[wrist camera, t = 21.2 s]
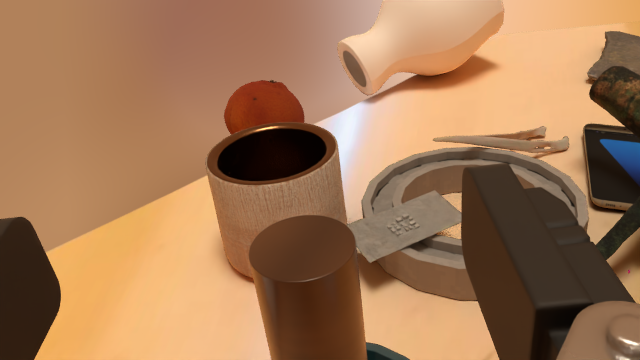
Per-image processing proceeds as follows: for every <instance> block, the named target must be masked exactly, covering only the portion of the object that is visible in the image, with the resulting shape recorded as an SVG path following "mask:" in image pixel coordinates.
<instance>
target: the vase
mask: <svg viewBox="0 0 640 360" xmlns="http://www.w3.org/2000/svg"><path fill="white" fill-rule="evenodd" d="M503 18H504V7H503V2H502V0H383V1H382V4H381V8H380V12H379V15H378V17H377V20H376V22H375V23H374V25H373V27H372V28H371V29H370V30H369V31H368V32H366V33H364V34H360V35H354V36H350V37H347V38H345V39H344V40H342V41H341V42H339V43H338V47H337V50H338V54H339V58H340V61H341V63H342V66H343V68H344V69H345V71H346V73H347V75H348V77H349V78H350V79H351V81H352V82H353V84H354V85H355V86H356V87H357V88H358V89H359V90H360V91H361V92H362V93H364V94H366V95H372V94H374V93H375V92H377V90H379V89H380V88H381V87H382V85H383V84H384V83H385V82H386V80H387V79H388V78H389V77H390V76H391V75H393V74H395V73H397V72H410V73H415V74H420V75H425V76H434V75H438V74H442V73H446V72H450V71H452V70H454V69H456V68H458V67H459V66H461V65H462V64H463V63H465V62H466V61H467V60H468V59H469V58H470V57H471V56H472V55H473V54H474V53H475V52H476V51H477V50H478V49H479V48H480V47H481V45H482V44H483V43H485V42H486V41H487V40H488V39H489V38H490V37H491V36H493V35H494V34H496V33H497V32H498V31H499V29H500V28H501V26H502V24H503Z"/></svg>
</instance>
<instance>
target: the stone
mask: <svg viewBox="0 0 640 360" xmlns="http://www.w3.org/2000/svg"><path fill="white" fill-rule="evenodd" d="M605 38H606V42H605V48H604V50H603V52H602V56H601V57H600V59H599V61H597V62H596V63H594V65H593V67H591V68H590V69H589V71H588V73H587V74H588V77H589V78H591V79H593V80H595V81H596V80H597V78H598V77H599V76H600V75H601V74H602V73H603V72H604V71H605V70H607V69H608V68H610V67H612V66H624V67H626V68H628V69H629V70H631V71H633V72H635V73H637V74H639V75H640V37H639V36H635V35H631V34H627V33H623V32H617V31H610V32H605Z"/></svg>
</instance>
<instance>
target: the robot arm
mask: <svg viewBox="0 0 640 360" xmlns="http://www.w3.org/2000/svg"><path fill="white" fill-rule="evenodd" d="M461 241H462V251H463V258H464V262H465V267H466V270H467V273H468V276H469V278H470V281H471V284H472V286H473V289H474V292H475V295H476V297H477V300H478V303H479V305H480V308H481V311H482V314H483V316H484V319H485V322H486V324H487V327H488V330H489V332H490V335H491V338H492V341H493V343H494V346H495V349H496V351H497V354H498V357H499V359H500V360H640V304H637V303H635V301H634V300H633V298H632V297H631V295H630V294H629V293H628V291H627V290H626V288H625V287H624V286H623V284H622V283H621V281H620V280H619V278H618V277H617V276H616V274H615V273H614V271H613V270H612V268H611V267H610V266H609V264H608V263H607V261H606V260H605V258H604V257H603V256H602V254H601V253H600V251H599V250H598V249H597V247H596V246H595V244H594V243H593V242H590V237H589V236H588V234H587V233H586V231H585V230H584V229H583V227H582V226H581V225H579V223H578V220H577V219H576V217H575V216H574V214H573V213H572V211H571V210H570V209H569V207H568V206H567V204H566V203H565V202H564V201H562V200H561V199H559V198H558V197H556V196H555V195H553V194H552V193H550V192H548V191H547V190H545V189H544V188H542V187H536V188H527V189H524V188H523V186H522V185H521V183H520V181H519V180H518V178H517V176H516V175H515V173H514V171H513V170H512V168H511V167H510V165H509V164H508V163H500V164H491V165H482V166H473V167H465V168H464V170H463V174H462V221H461ZM60 301H61V291H60V285H59V281H58V279H57V277H56V274H55V272H54V270H53V268H52V266H51V264H50V262H49V259H48V257H47V255H46V253H45V251H44V249H43V247H42V245H41V242H40V240H39V238H38V236H37V234H36V232H35V230H34V228H33V226H32V224H31V223H30V222H29V221H28V220H27V219H26V218H23V217H15V218H7V219H0V360H34V359H35V357H36V355H37V353H38V351H39V349H40V347H41V345H42V343H43V341H44V339H45V337H46V335H47V333H48V331H49V329H50V327H51V325H52V323H53V321H54V319H55V317H56V315H57V313H58V311H59V307H60Z"/></svg>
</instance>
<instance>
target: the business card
mask: <svg viewBox="0 0 640 360" xmlns="http://www.w3.org/2000/svg"><path fill="white" fill-rule="evenodd" d="M461 221H462V213H461V212H460V211H459V210H457V209H456V208H455V207H454V206H452V205H451V204H450V203H449V202H448V201H447V200H445V199H444V198H443V197H442V196H441V195H440V194H438V193H437V192H436V191H435V190H434V191H432V192H429V193H427V194H424V195H421V196H419V197H417V198H414V199H412V200H410V201H407V202H405V203H403V204H401V205H399V206H396V207H393V208H390V209H387V210H384V211H382V212H379V213H377V214H374V215H372V216H368V217H365V218H363V219H360V220H357V221H355V222H353V223H351V224H348V225H346V226H348V227H349V228H350V230H351V231H352V232H353V234H354V236H355V240H356V247H357V248H358V249H359V250H360V252H361V253H362V254H363V255H364V257H365V258H366V259H367V260H368V261H369V263H371V262H373V261H375V260H377V259H379V258H382V257H384V256H386V255H389V254H391V253H393V252H395V251H397V250H400V249H402V248H404V247H406V246H408V245H411V244H413V243H415V242H418V241H420V240H422V239H425V238H427V237H429V236H431V235H433V234H435V233H438V232H440V231H442V230H445V229H447V228H449V227H452V226H454V225H457V224H459V223H461Z"/></svg>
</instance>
